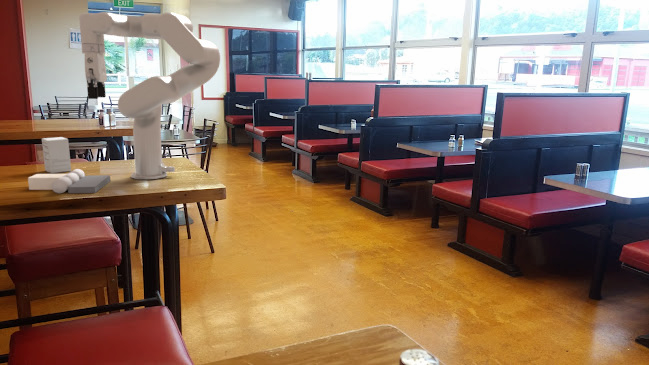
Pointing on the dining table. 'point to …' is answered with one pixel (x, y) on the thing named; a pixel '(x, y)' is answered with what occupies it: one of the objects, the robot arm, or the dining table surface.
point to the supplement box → (56, 154)
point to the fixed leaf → (80, 183)
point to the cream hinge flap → (48, 180)
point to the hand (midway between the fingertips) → (97, 97)
